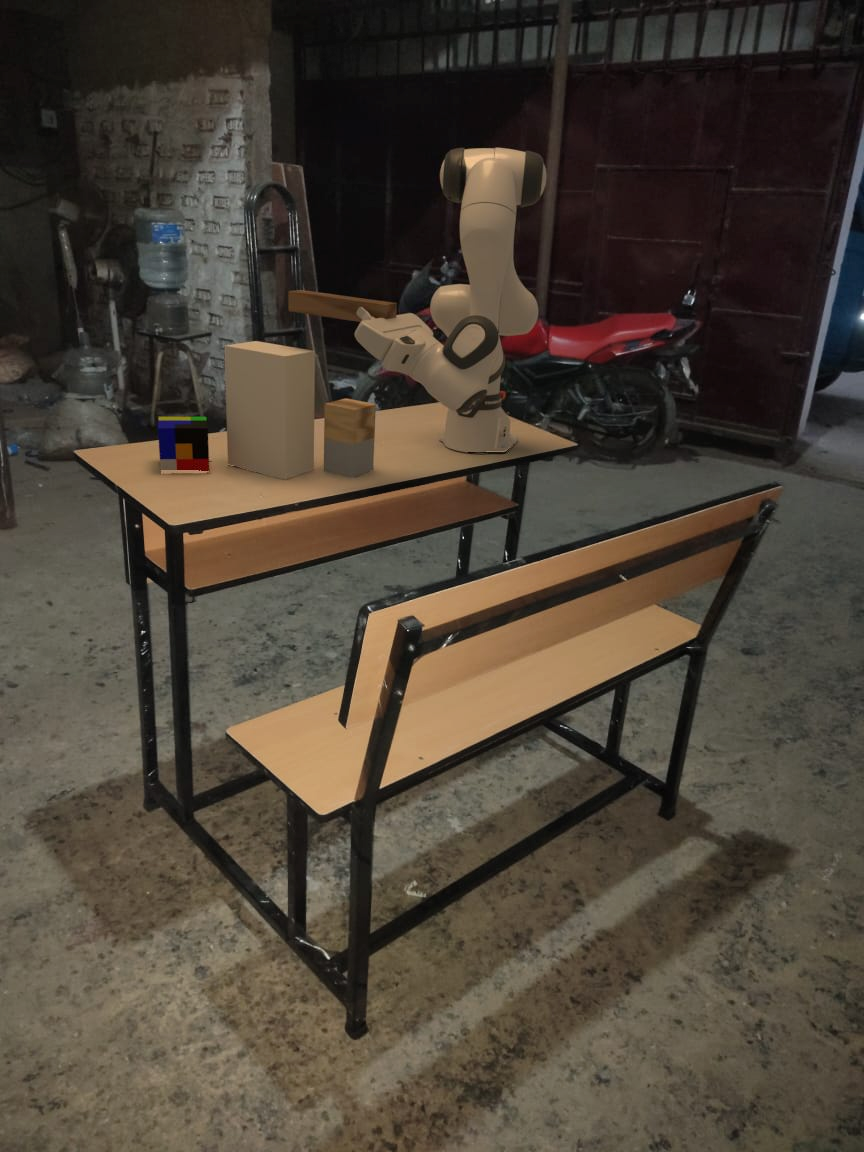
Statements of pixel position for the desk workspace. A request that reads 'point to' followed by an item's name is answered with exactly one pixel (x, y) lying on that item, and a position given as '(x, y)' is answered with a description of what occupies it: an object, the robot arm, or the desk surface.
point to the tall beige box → (270, 408)
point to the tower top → (349, 421)
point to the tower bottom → (348, 457)
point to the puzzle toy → (183, 443)
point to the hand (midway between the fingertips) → (367, 308)
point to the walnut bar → (338, 305)
